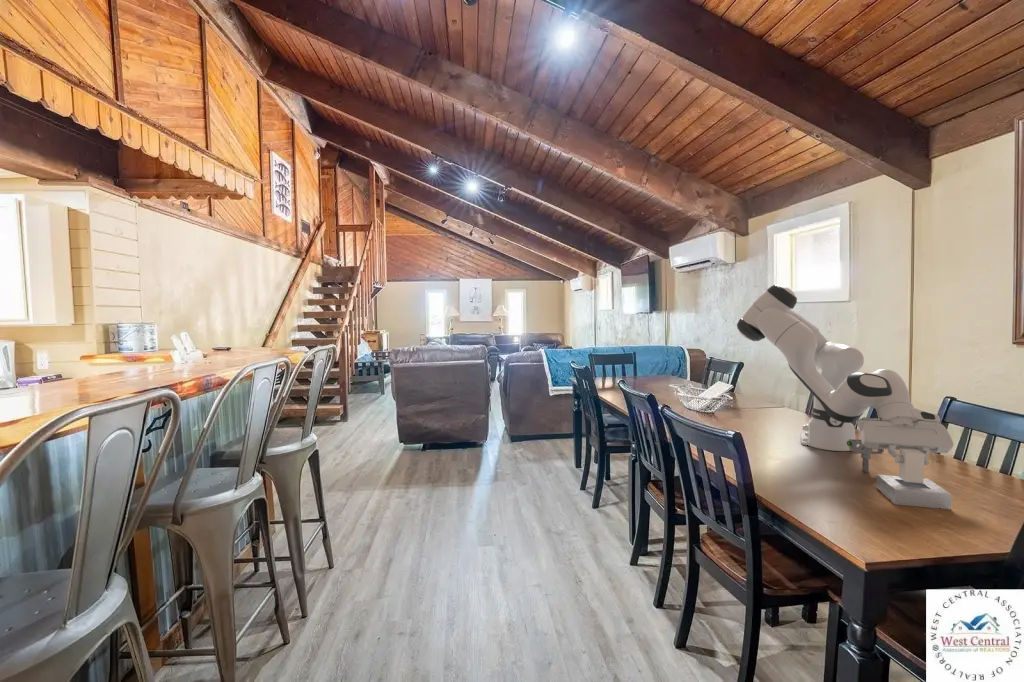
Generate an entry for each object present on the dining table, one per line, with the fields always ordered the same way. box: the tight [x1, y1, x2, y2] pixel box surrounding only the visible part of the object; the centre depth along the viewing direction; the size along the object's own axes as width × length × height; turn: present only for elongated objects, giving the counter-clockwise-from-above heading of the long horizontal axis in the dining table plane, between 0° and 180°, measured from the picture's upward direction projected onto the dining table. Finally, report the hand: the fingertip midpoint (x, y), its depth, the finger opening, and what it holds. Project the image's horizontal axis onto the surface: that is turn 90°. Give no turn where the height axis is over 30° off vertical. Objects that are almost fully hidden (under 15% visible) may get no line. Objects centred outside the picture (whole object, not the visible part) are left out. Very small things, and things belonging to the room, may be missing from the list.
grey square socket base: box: [876, 474, 953, 510], centre depth 130 cm, size 12×12×4 cm
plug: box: [898, 448, 925, 483], centre depth 130 cm, size 4×4×8 cm
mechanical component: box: [847, 439, 885, 473], centre depth 151 cm, size 3×10×10 cm, turn 78°
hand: (912, 463), depth 129 cm, fingers closed on plug, 4 cm apart
